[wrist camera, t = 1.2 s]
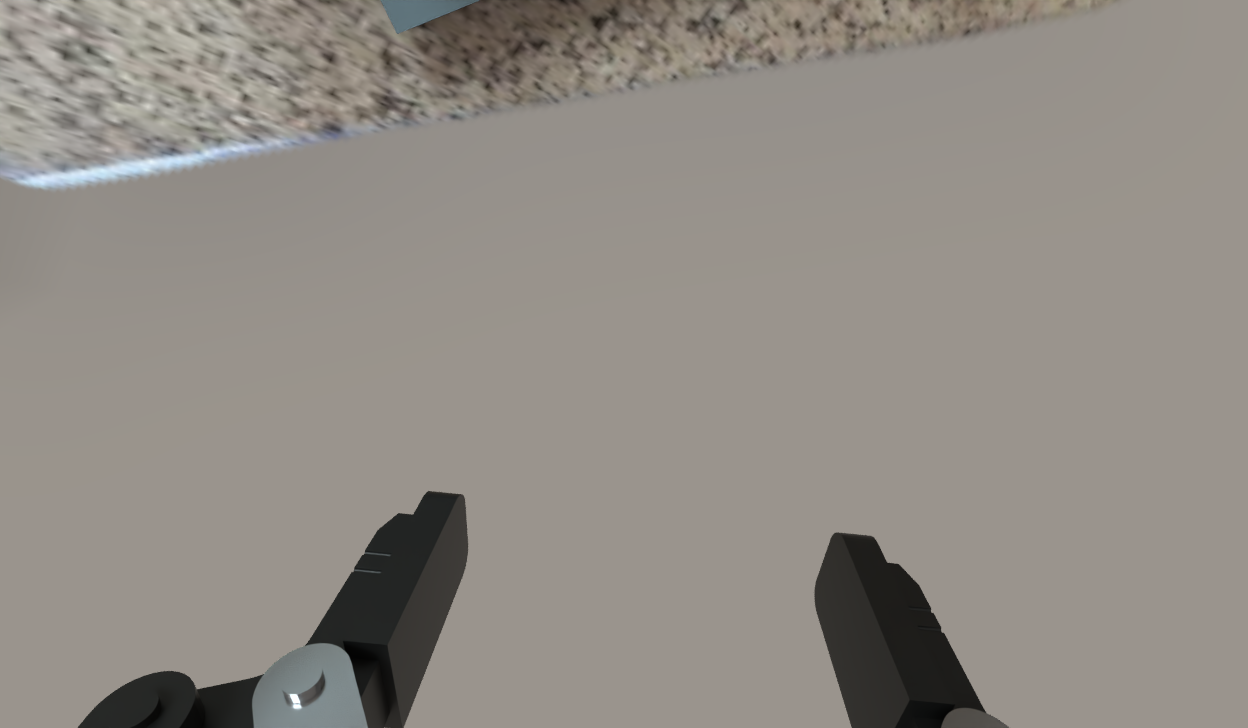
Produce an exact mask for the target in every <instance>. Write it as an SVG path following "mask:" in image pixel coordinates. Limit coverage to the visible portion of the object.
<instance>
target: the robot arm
mask: <svg viewBox="0 0 1248 728" xmlns="http://www.w3.org/2000/svg"><path fill="white" fill-rule="evenodd" d="M467 555H468V536H467V522H466V507H465V498H464V496H463V495H461V494H452V493H442V492H432V491H428V492H427V493H426V494H425V495H424V496H423V498H422V500H421V502H420V503H419V505H418V507H417V509H416V511H415V512H414V514H413V515H411V514H400V513H398V514H397V515H396V516H395V517H393V518H392V519H391V520H390V521H388V522H387V523H386V524H385V525H384V526H383V527H381V528H380V529H379V530H378V531H377V532H376V534H375V535H374V537H373V539H372V540H371V542H370V544H369V545H368V547H367V548H366V550H365V554H364V555H362V556H361V558H360V560H359V561H358V563H357V565H356V566H355V568H354V572H352V573H351V574H350V576H349V578H348V579H347V581H346V582H345V584H344V586H343V587H342V589H341V590H340V592H339V593H338V595H337V597H336V598H335V600H334V602H333V603H332V605H331V607H330V608H329V610H328V611H327V613H326V614H325V616H324V618H323V619H322V621H321V622H320V624H319V626H318V627H317V629H316V631H315V632H314V634H313V635H312V637H311V638H310V640H309V641H308V643H307V644H306V645H305V646H304V647H301V648H298V649H296V650H294V651H292V652H290V653H288V654H287V655H285V656H283V657H282V658H280V659H279V660H278V661H277V662H275V663H274V664H273V665H272V666H271V667H270V668H269V669H268V670H267V671H266V672H265V674H263V675H260V676H257V677H254V678H250V679H246V680H241V681H236V682H231V683H226V684H221V685H216V686H212V687H207V688H202V689H196V687H195V685H194V683H193V681H192V680H191V679H190V677H188V676H187V675H185V674H183V673H180V672H174V671H164V672H158V673H152V674H149V675H146V676H143V677H141V678H138V679H135V680H133V681H131V682H129V683H127V684H125V685H124V686H122V687H120V688H119V689H117V690H116V691H114V692H113V693H111V694H110V695H109V696H107V697H106V698H105V699H104V700H103V701H101V702H100V703H99V704H98V705H97V706H96V707H95V708H94V709H93V710H92V711H91V712H90V714H88V716H87V717H86V718H85V719H84V721H83V722H82V723H81V724H80V725H79V726H78V728H384V727H385V728H403V727H404V725H405V722H406V720H407V717H408V715H409V712H410V710H411V707H412V704H413V702H414V699H415V697H416V694H417V691H418V689H419V686H420V684H421V681H422V679H423V676H424V674H425V671H426V669H427V666H428V663H429V661H430V658H431V656H432V653H433V651H434V648H435V646H436V643H437V640H438V638H439V635H440V633H441V630H442V628H443V625H444V623H445V620H446V617H447V615H448V612H449V610H450V607H451V604H452V602H453V599H454V597H455V594H456V591H457V589H458V586H459V584H460V581H461V579H462V576H463V573H464V570H465V566H466V562H467ZM815 606H816V611H817V615H818V618H819V621H820V625H821V628H822V631H823V634H824V638H825V641H826V644H827V647H828V651H829V654H830V657H831V661H832V664H833V667H834V671H835V674H836V677H837V681H838V684H839V687H840V690H841V694H842V697H843V700H844V704H845V707H846V710H847V713H848V717H849V720H850V723H851V726H852V728H1009V727H1008V726H1007V725H1005V724H1004V723H1002V722H1001V721H1000V720H998V719H997V718H995V717H993V716H991V715H989V714H987V713H986V712H985V710H984V708H983V706H982V705H981V703H980V701H979V699H978V697H977V695H976V693H975V691H974V689H973V687H972V686H971V684H970V682H969V680H968V678H967V676H966V674H965V672H964V670H963V668H962V666H961V665H960V663H959V661H958V659H957V657H956V655H955V653H954V651H953V649H952V648H951V646H950V644H949V642H948V640H947V638H946V636H945V634H944V633H942V632H941V626H940V625H939V623H938V621H937V619H936V617H935V615H934V613H931V607H930V605H929V603H928V602H927V600H926V598H925V596H924V594H923V592H922V590H921V588H920V586H919V585H918V584H917V583H916V582H915V581H914V580H913V579H912V578H911V576H910V575H909V574H907V572H906V571H905V570H904V569H903V568H902V567H901V566H900V565H899V564H894V563H887V562H886V560H885V557H884V555H883V553H882V551H881V549H880V547H879V545H878V543H877V541H876V540H875V538H874V537H872V536H867V535H857V534H846V533H834V534H833V536H832V537H831V540H830V543H829V546H828V549H827V552H826V554H825V557H824V560H823V563H822V566H821V569H820V571H819V575H818V577H817V580H816V585H815Z"/></svg>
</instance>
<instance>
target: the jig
mask: <svg viewBox="0 0 1248 728" xmlns="http://www.w3.org/2000/svg"><path fill="white" fill-rule="evenodd" d="M477 1H479V0H381V2H382V4H383V6H384V8H385V10H386V12H387V14H388V16H389V18H390V20H391V22H392V24H393V26H394V28H395V30H396V32H397V34H398V33H401V32H403V31H406V30H408V29H411V28H413V27H416V26H418V25H421V24H423V23H425V22H428V21H430V20H433V19H435V18H438V17H440V16H443V15H445V14H448V13H450V12H452V11H455V10H457V9H460V8H462V7H465V6H467V5H470V4H472V3H475V2H477Z"/></svg>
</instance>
